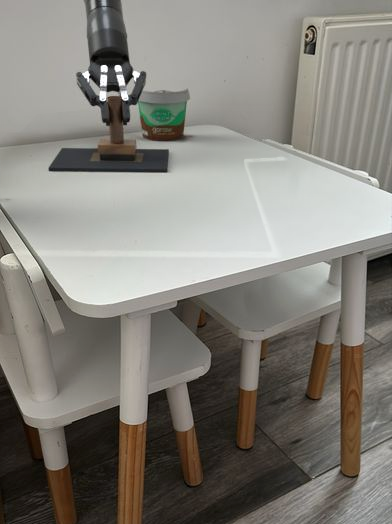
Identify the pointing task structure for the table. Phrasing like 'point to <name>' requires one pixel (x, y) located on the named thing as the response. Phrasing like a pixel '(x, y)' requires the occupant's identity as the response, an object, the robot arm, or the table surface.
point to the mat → (91, 161)
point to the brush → (116, 136)
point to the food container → (163, 114)
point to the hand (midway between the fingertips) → (116, 122)
